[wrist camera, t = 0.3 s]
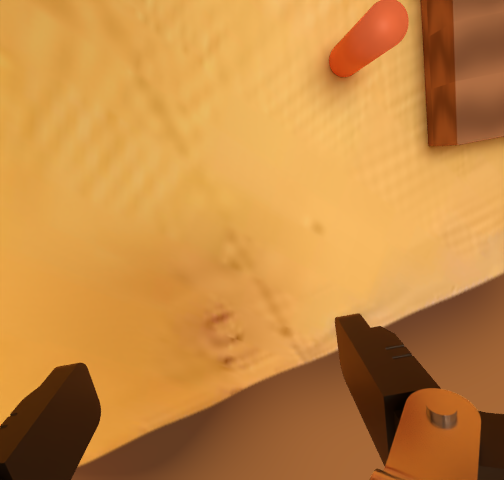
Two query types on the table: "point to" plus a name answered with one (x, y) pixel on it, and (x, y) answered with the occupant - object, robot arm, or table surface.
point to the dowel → (370, 37)
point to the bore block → (463, 70)
